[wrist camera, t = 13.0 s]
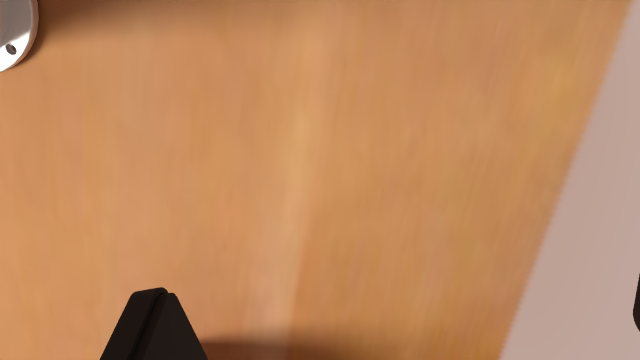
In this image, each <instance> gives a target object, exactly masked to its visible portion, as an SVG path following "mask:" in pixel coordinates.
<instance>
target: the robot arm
mask: <svg viewBox="0 0 640 360" xmlns="http://www.w3.org/2000/svg"><path fill="white" fill-rule="evenodd" d="M38 22H39V14H38V2H37V0H0V72H3V71H5V70H7V69H9V68H11V67H13V66H15V65H16V64H17V63H18V62H19V61H21V60H22V59H23V58H24V57H25V56H26V55H27V53H28V52H29V50H30V49H31V47H32V46H33V43H34V40H35V37H36V35H37V29H38ZM15 47H16V48H15ZM633 317H634V321H635V324H636V326H637V328H638V329H639V331H640V275H639V281H638V287H637V292H636V298H635V304H634V309H633ZM100 360H208V358H207V356H206V354H205V352H204V350H203V348H202V346H201V344H200V342H199V340H198V338H197V336H196V334H195V332H194V330H193V328H192V326H191V324H190V322H189V320H188V318H187V316H186V314H185V312H184V310H183V308H182V306H181V304H180V302H179V300H178V298H177V296H176V295H175V294H174V293H168V292H167V290H166V289H165V288H162V287H160V288H154V289H148V290H142V291H137V292H134V293H133V294H132V295H131V297H130V298H129V300H128V303H127V305H126V307H125V309H124V311H123V313H122V315H121V317H120V319H119V321H118V323H117V325H116V327H115V329H114V331H113V333H112V335H111V337H110V339H109V341H108V344H107V346H106V348H105V350H104V352H103V354H102V356H101V358H100Z"/></svg>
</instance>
